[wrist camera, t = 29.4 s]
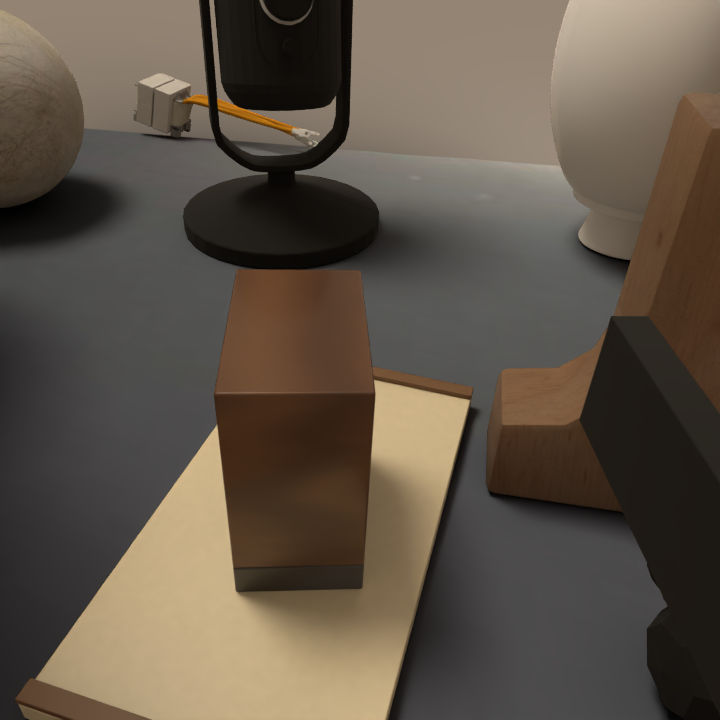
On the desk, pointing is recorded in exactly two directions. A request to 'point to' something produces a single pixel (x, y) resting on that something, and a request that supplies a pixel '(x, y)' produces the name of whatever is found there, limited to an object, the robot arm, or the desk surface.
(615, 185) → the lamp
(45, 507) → the desk surface
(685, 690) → the toy
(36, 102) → the decorative sphere
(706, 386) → the wooden block
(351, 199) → the microphone
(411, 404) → the writing board
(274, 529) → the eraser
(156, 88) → the transformer
